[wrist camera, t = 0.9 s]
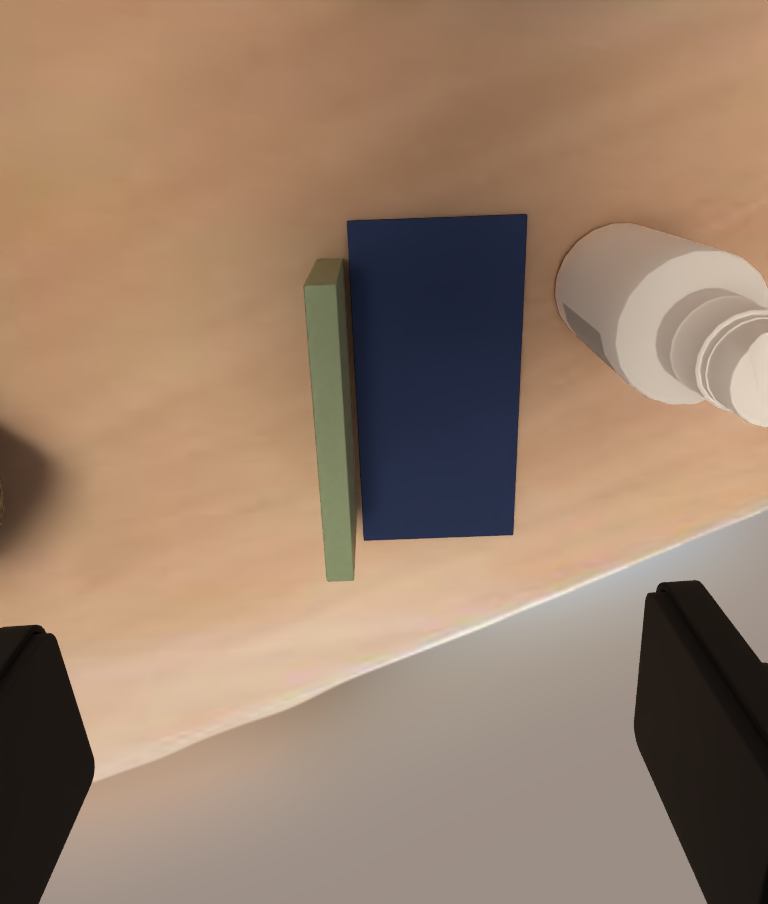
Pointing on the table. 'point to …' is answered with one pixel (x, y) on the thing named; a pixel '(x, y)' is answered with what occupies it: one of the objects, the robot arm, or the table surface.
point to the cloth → (437, 372)
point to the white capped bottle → (670, 317)
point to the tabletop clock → (1, 504)
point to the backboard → (332, 414)
